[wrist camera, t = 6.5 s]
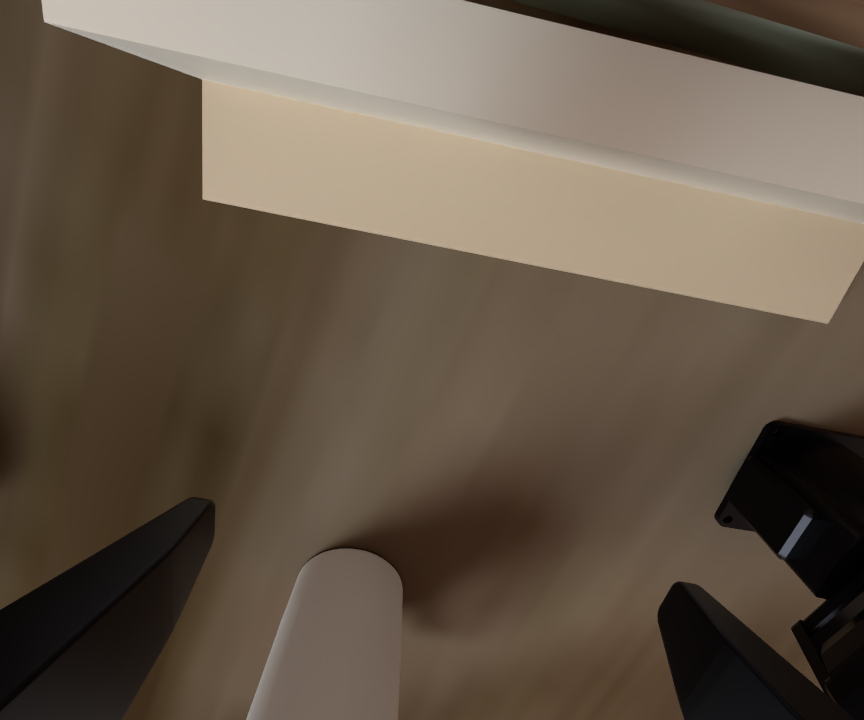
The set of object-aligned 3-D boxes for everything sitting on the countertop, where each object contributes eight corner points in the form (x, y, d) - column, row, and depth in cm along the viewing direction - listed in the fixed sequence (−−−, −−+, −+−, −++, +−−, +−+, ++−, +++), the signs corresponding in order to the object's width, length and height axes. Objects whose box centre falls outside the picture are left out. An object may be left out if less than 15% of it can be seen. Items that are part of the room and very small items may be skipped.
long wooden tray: (888, 173, 18) (1206, 180, 11) (810, 316, 20) (1025, 404, 13) (215, 19, 16) (29, -105, 9) (214, 197, 18) (67, 220, 11)
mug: (270, 564, 26) (153, 855, 15) (375, 527, 25) (331, 813, 14) (352, 668, 30) (305, 964, 19) (447, 640, 29) (456, 937, 18)
